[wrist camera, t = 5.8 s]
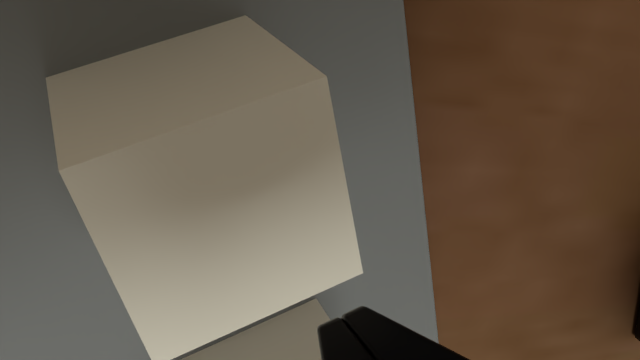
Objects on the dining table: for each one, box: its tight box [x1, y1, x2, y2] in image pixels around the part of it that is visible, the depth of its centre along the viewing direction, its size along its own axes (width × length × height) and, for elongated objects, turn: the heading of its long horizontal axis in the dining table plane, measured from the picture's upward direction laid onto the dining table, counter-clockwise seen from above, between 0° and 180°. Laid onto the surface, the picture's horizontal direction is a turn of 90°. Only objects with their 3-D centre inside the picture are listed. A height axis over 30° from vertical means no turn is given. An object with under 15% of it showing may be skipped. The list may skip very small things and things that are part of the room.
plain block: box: [46, 15, 363, 360], centre depth 14 cm, size 5×5×5 cm
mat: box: [0, 0, 439, 360], centre depth 16 cm, size 30×14×1 cm, turn 10°
